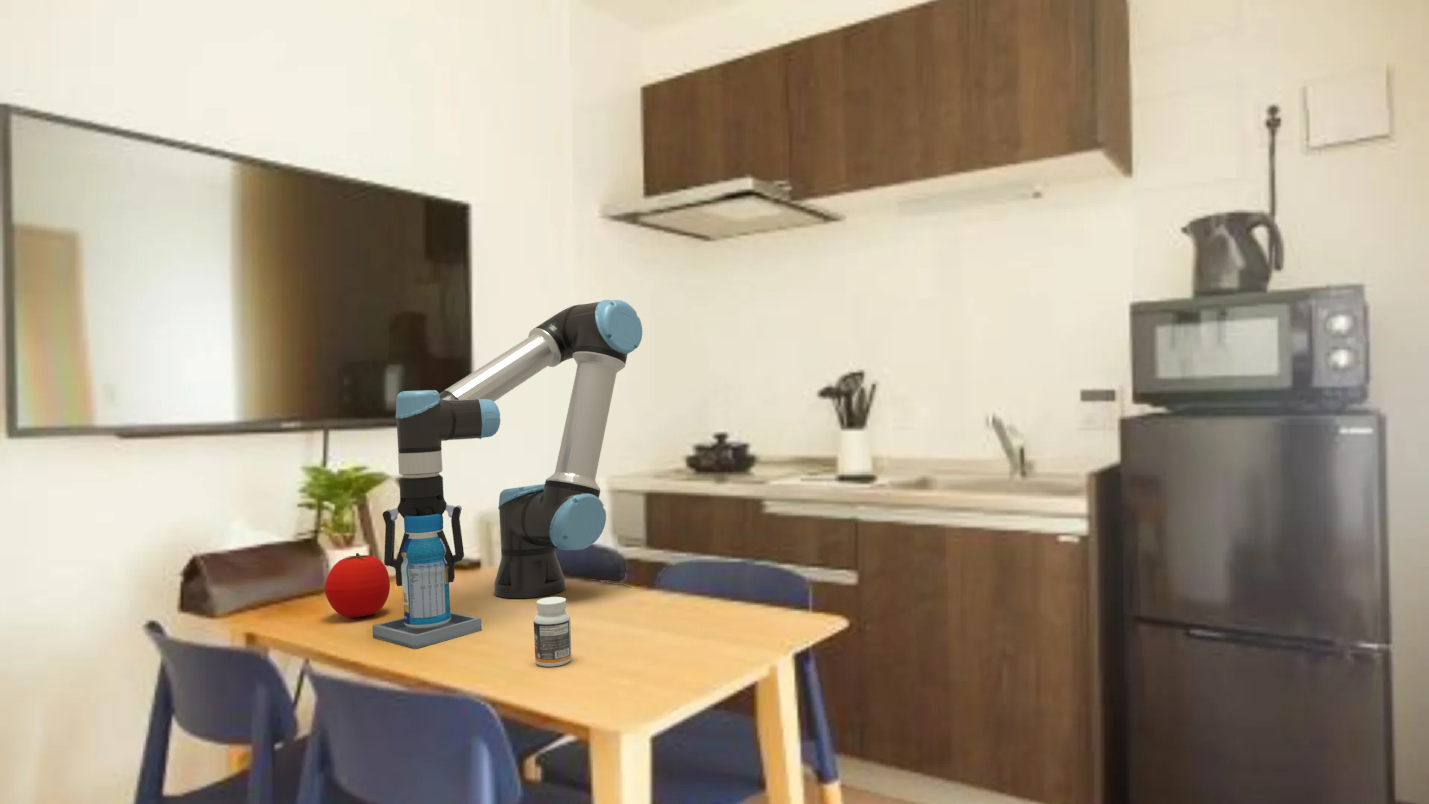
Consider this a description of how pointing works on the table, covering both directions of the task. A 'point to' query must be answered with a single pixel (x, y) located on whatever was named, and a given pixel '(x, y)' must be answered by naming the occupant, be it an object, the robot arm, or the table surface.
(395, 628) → the tray
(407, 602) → the beverage bottle
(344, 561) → the tomato
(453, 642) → the table surface
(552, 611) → the pill bottle
